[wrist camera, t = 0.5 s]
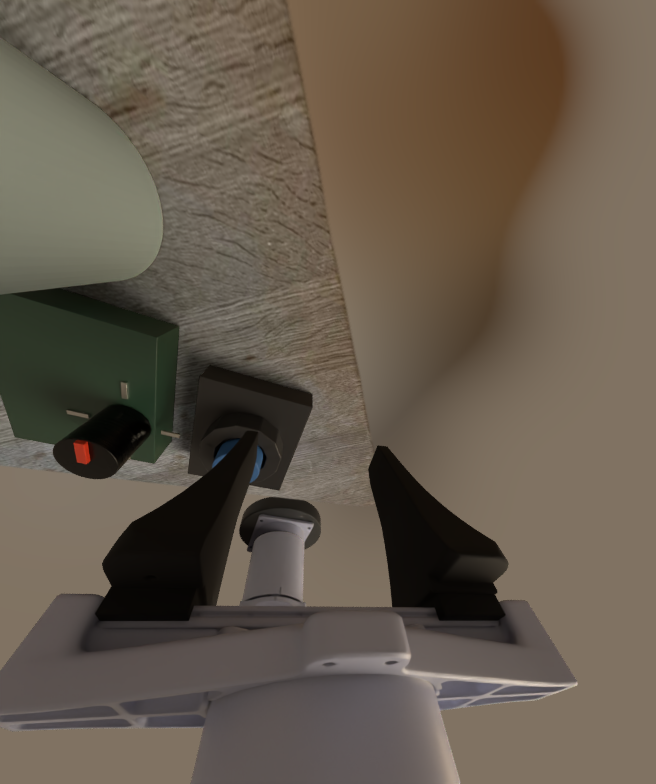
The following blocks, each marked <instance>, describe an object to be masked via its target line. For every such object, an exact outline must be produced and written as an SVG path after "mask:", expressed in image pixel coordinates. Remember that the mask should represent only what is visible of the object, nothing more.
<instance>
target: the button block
mask: <svg viewBox="0 0 656 784" xmlns="http://www.w3.org/2000/svg"><path fill="white" fill-rule="evenodd" d="M311 410H312V394H309V393H306V392H302V391H299V390H295V389H292V388H288V387H285V386H281V385H278V384H274V383H271V382H268V381H264V380H261V379H257V378H254V377H250V376H247V375H243V374H240V373H236V372H233V371H229V370H226V369H222V368H219V367H215V366H212V365H210V366H209V367H208V368H207V369H206V370H205V371H204V372H203V373H202V374H201V375H200V376H199V384H198V392H197V401H196V409H195V417H194V426H193V434H192V442H191V451H190V459H189V467H188V474H194V475H199V476H204V475H205V474H206V473H208V472H209V471H210V470H211V469H212V464H213V461H214V459H215V457H216V455H217V453H218V451H219V449H220V447H221V445H222V444H223V443H225V442H226V441H228V440H231V439H236V438H241V437H242V436H243V435H244V433H245V432H246V431H256V432H258V446H259V447H260V449H261V450H262V453H263V460H262V464H261V468H260V472H259V475H258V477H257V478H256V479H255V480H254V481H253V482H251V483H249V485H253V486H258V487H263V488H269V489H274V490H280V487H281V485H282V482H283V480H284V477H285V475H286V472H287V470H288V467H289V465H290V462H291V460H292V457H293V455H294V452H295V450H296V447H297V445H298V442H299V440H300V437H301V435H302V432H303V430H304V427H305V425H306V422H307V420H308V417H309V415H310V413H311Z"/></svg>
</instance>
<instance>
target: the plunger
mask: <svg viewBox="0 0 656 784" xmlns="http://www.w3.org/2000/svg"><path fill="white" fill-rule="evenodd" d="M240 439H241V438H236V439H231V440H228V441H226V442H225V443H223V444H222V445H221V447H220V449H219V451H218V453H217V455H216V457H215V459H214V461H213V464H212V468H213V467H214V466H215V465H216V464H217V463H218V462H219V461H221V460H222V459H223V458H224V457H225V456H226V454H227V453H228V452H229V451H230V450H231V449H232V448H233V447H234V446H235V445H236V443H237V442H238V441H239V440H240ZM262 460H263V453H262V450H261V449H260V447H259V446H258V445H257V458H256V463H255V467H254V471H253V475H252V478H251V481H250V483H251V482H253V481H254V480H255V479H256V478H257V477H258V475H259V472H260V468H261V464H262Z"/></svg>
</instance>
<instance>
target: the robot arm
mask: <svg viewBox="0 0 656 784" xmlns="http://www.w3.org/2000/svg"><path fill="white" fill-rule="evenodd" d="M257 445H258V432H256V431H246V432H245V433H244V435H243V436H242V437H241V439H240V440H239V441H238V442H237V443H236V445H235V446H234V447H233V448H232V449H231V450H230V451H229V452H228V453H227V454H226V456H225V457H224V458H223V459H222V460H221V461H219V462H218V463H217V464H216V465H215V466H214V467H213V468H212V469H211V470H210V471H209V472H208V473H206V474H205V475H204V476H203V477H202V478H200V479H199V480H198V481H197V482H195V483H194V484H193V485H191V486H190V487H189V488H187V489H186V490H185V491H183V492H182V493H180V494H179V495H177V496H176V497H174V498H173V499H171V500H170V501H168V502H167V503H165V504H163V505H162V506H160V507H159V508H157V509H155V510H153V511H152V512H150V513H148V514H146V515H144V516H143V517H141V518H139V519H137V520H135V521H134V522H132V523H131V524H130V525H129V527H128V528H127V529H126V530H125V531H124V532H123V533H122V535H121V536H120V537H119V539H118V540H117V541H116V543H115V544H114V546H113V547H112V548H111V550H110V551H109V553H108V554H107V556H106V557H105V559H104V560H103V563H102V566H103V570H104V572H105V574H106V576H107V578H108V580H109V582H110V584H111V586H112V587H111V588H110V590H109V591H108V593H107V595H106V596H105V598H104V597H103V596H100V595H96V594H60V595H58V596H57V597H56V598H55V599H54V601H53V602H52V603H51V605H50V606H49V607H48V609H47V610H46V611H45V613H44V614H43V615H42V616H41V618H40V619H39V621H38V622H37V623H36V624H35V626H34V627H33V628H32V630H31V631H30V632H29V634H28V635H27V636H26V638H25V639H24V640H23V642H22V643H21V644H20V646H19V647H18V648H17V650H16V651H15V652H14V654H13V655H12V656H11V658H10V659H9V660H8V661H7V663H6V664H5V665H4V667H3V668H2V670H1V671H0V727H1V728H4V729H7V730H10V731H32V730H53V729H82V728H83V729H89V728H203V733H202V737H201V741H200V745H199V750H198V754H197V758H196V763H195V767H194V771H193V776H192V780H191V784H461V783H460V779H459V776H458V772H457V769H456V765H455V762H454V758H453V755H452V751H451V747H450V744H449V740H448V737H447V733H446V730H445V726H444V723H443V719H442V716H441V713H440V710H447V709H454V708H463V707H471V706H479V705H488V704H496V703H506V702H517V701H530V700H538V699H541V698H544V697H547V696H549V695H552V694H555V693H557V692H560V691H563V690H566V689H568V688H571V687H574V686H576V685H577V684H578V683H577V680H576V679H575V677H574V675H573V674H572V672H571V671H570V669H569V667H568V666H567V664H566V663H565V661H564V660H563V658H562V656H561V655H560V653H559V652H558V650H557V648H556V647H555V645H554V643H553V642H552V640H551V639H550V637H549V635H548V634H547V632H546V631H545V629H544V627H543V626H542V624H541V623H540V621H539V620H538V618H537V616H536V615H535V613H534V611H533V610H532V608H531V607H530V605H529V603H528V602H527V601H525V600H503V601H500V602H498V600H497V598H496V596H495V594H496V593H497V589H496V588H495V586H494V584H493V582H494V581H495V580H497V579H498V578H499V577H500V576H501V575H502V574H503V573H504V572H505V571H506V570H507V568H508V561H507V559H506V558H505V556H504V555H503V553H502V552H501V550H500V548H499V547H498V545H497V544H496V542H495V541H493V540H491V539H490V538H488V537H486V536H485V535H483V534H482V533H480V532H479V531H477V530H475V529H474V528H472V527H471V526H470V525H468V524H467V523H465V522H464V521H462V520H461V519H460V518H458V517H457V516H456V515H454V514H453V513H452V512H450V511H449V510H448V509H447V508H445V507H444V506H443V505H442V504H441V503H439V502H438V501H437V500H436V499H435V498H434V497H433V496H432V495H431V494H429V493H428V492H427V491H426V490H425V489H424V488H423V487H422V486H421V485H420V484H419V483H418V482H417V481H416V480H415V478H414V477H413V476H412V475H411V474H410V473H409V472H408V471H407V470H406V468H405V467H404V466H403V465H402V464H401V463H400V461H399V460H398V459H397V458H396V457H395V455H394V454H393V453H392V452H391V451H390V449H389V448H388V447H386V446H377V448H376V451H375V454H374V456H373V459H372V461H371V464H370V466H369V469H368V470H369V478H370V485H371V489H372V492H373V496H374V500H375V503H376V507H377V511H378V514H379V518H380V522H381V526H382V531H383V537H384V543H385V549H386V556H387V563H388V571H389V579H390V586H391V597H392V607H306V603H305V602H303V571H304V542H305V540H306V539H307V537H308V535H309V533H310V532H311V530H312V528H313V526H314V524H313V522H308V521H302V520H296V519H290V518H284V517H277V516H271V515H265V514H261V515H259V517H258V520H257V523H256V526H255V528H254V531H253V534H252V536H251V539H250V542H249V544H248V547H247V551H248V552H252V555H251V560H250V565H249V570H248V575H247V579H246V584H245V589H244V594H243V599H242V601H241V602H240V606H216V604H217V599H218V594H219V591H220V586H221V582H222V578H223V574H224V570H225V565H226V561H227V557H228V553H229V549H230V545H231V541H232V537H233V533H234V529H235V525H236V522H237V517H238V515H239V511H240V509H241V506H242V503H243V500H244V498H245V495H246V492H247V489H248V486H249V483H250V481H251V478H252V475H253V471H254V467H255V463H256V458H257Z"/></svg>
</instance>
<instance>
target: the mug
mask: <svg viewBox="0 0 656 784" xmlns="http://www.w3.org/2000/svg"><path fill="white" fill-rule="evenodd" d="M162 237H163V215H162V208H161V203H160V199H159V195H158V192H157V189H156V186H155V183H154V181H153V179H152V176H151V174H150V172H149V170H148V168H147V166H146V164H145V162H144V161H143V159H142V157H141V155H140V154H139V152H138V151H137V149H136V148H135V146H134V145H133V143H132V142H131V141H130V140H129V138H128V137H127V136H126V134H125V133H124V132H123V131H122V130H121V129H120V127H119V126H118V125H117V124H116V123H115V122H114V121H113V120H112V119H111V118H110V117H109V116H108V115H107V114H106V113H104V112H103V111H102V110H101V109H100V108H99V107H97V106H96V105H95V104H94V103H92V102H91V101H90V100H88V99H87V98H85V97H84V96H83V95H81V94H80V93H78V92H77V91H76V90H74V89H73V88H71V87H70V86H68V85H67V84H66V83H64V82H63V81H61V80H60V79H59V78H57V77H56V76H54V75H53V74H52V73H50V72H49V71H47V70H46V69H45V68H43V67H42V66H40V65H39V64H37V63H36V62H35V61H33V60H32V59H30V58H29V57H28V56H26V55H25V54H23V53H22V52H21V51H19V50H18V49H16V48H15V47H14V46H12V45H11V44H9V43H8V42H6V41H5V40H4V39H2V38H1V37H0V295H1V294H10V293H19V292H27V291H36V290H45V289H53V288H62V287H71V286H79V285H88V284H97V283H105V282H114V281H122V280H127V279H130V278H133V277H135V276H138V275H139V274H141V273H142V272H144V271H145V270H146V269H147V268H148V267H149V266H150V265H151V264H152V263H153V261H154V260H155V258H156V256H157V254H158V252H159V249H160V246H161V242H162Z"/></svg>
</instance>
